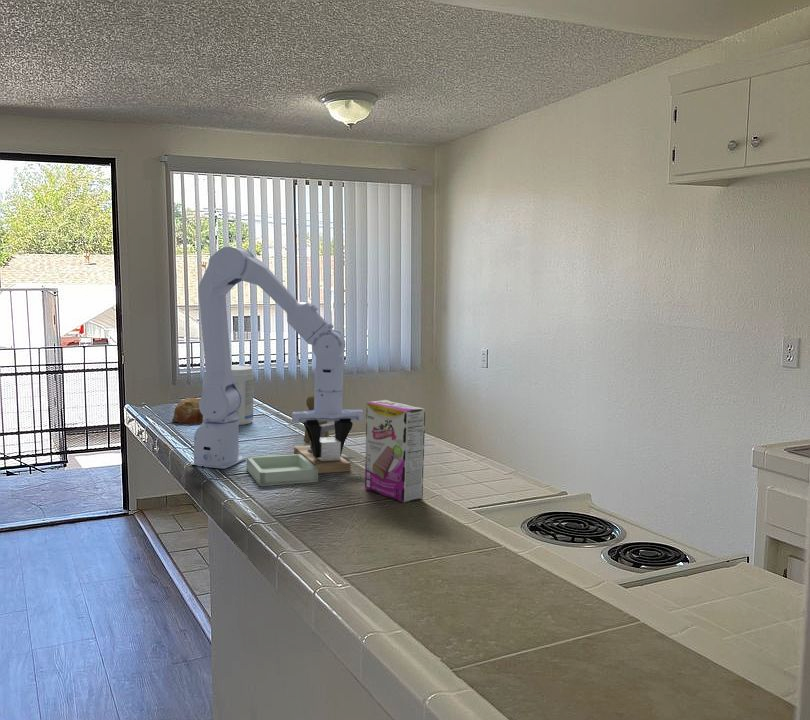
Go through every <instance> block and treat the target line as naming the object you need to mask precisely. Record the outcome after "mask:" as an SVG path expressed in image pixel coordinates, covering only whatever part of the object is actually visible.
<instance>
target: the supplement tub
mask: <svg viewBox="0 0 810 720" xmlns="http://www.w3.org/2000/svg"><path fill="white" fill-rule="evenodd" d="M231 370H232V373H233V375H234V377H235V379H236V385H237V388H238V390H239V391H240V393H241V396H242V403H241V406H240V408H239V409H238V410H237V411H236V412H237V415H238V416H239V426H245V425H249V424H251V423H252V422H253V420H254V371H253V370H254V369H253V367H252V366H249V365H248V366H246V365H231Z"/></svg>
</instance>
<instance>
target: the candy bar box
mask: <svg viewBox="0 0 810 720" xmlns="http://www.w3.org/2000/svg"><path fill="white" fill-rule="evenodd" d="M365 419H366V420H365V421H366V422H365V424H366V425H365V428H366V429H365V469H364V473H365V474H364V475H365V477H364V489H365V490H368V491H371V492H374V493H376V494H379V495H382V496H384V497H386V498H390V499H392V500H395V501H398V502H400V503H404V504H405V503H410V502H414V501H417V500H422V499H423V497H424V495H423V494H424V493H423V492H424V460H425V458H424V457H425V433H426V432H425V431H426V408H423V407H418V406H415V405H410V404H404V403H402V402H401V403H400V402H396V401H393V400H388V399H380V400H378V399H377V400H369V401H366V418H365Z"/></svg>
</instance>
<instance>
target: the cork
mask: <svg viewBox="0 0 810 720" xmlns="http://www.w3.org/2000/svg"><path fill="white" fill-rule="evenodd" d="M305 404H306V407H307V408H308V409H307V411H311V410H314V394H310V395H308V396H307V397H306V402H305ZM318 423H319V425H322V424H327V423H328V421H319V422H318ZM329 434H330V433H329V431H327V432H324V437H330V435H329ZM303 441H304V442H306V443H310V438H309V435H308V433H307V431H306V428H305V431H304V437H303Z"/></svg>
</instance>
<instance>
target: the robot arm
mask: <svg viewBox="0 0 810 720" xmlns="http://www.w3.org/2000/svg"><path fill="white" fill-rule="evenodd" d="M240 282H245V283H249V284H252V285H256V286H258V287H259V288H261V290H262V291H264V292H265V293H266V294H267V296H269V297H270V298H271V300H273V301H274V302H275V303H276V304H277V305H278V306H279V307H280V308H281V309H282V310H283V311H284V312H285V313H286V318H287V319H286V322H287V324H288V325H290V327H291V328H292V329H293V330H294V331H295V332H296V333H297V334H298V335H299V336H300V337H301V338H302V339H303V340H304V341H305V342H306V343H307V344H308V345H311V348H312V352H313V354H314V355H315V367H314V389H313V390H314V391H313V393H314V410H311V411H308V410H304V411H292V412H291V422H292V424H293V423H294V424H300V423H303V426H304V428H305V429H306V431H307V433H308V435H309V438H310V441H311V445H312V449H313V456H314V457H315V458H319V455H320V433H321V426H320V425H319V423H318V422H319V421H327V422H334V425H335V430H334V438H336V439H337V440H339V441H340V442H341V450H340V456H341V457H342V453H343V448H344V445H345V443H346V440H347V437H348V435H349V434H350V431H351V430H352V428H353V425H354V424H353V422H352V421H364V411H363V410H362V409H343V400H344V399H343V398H344V397H343V393H344V367H343V365H344V357H343V355H342V354H343V353H344V351H345V349H346V340H345V338H344V336H343V335H342V333H341V332H340V331H339V330H337V329H334V328H335V326H334V325H333V324H332V323H328V322H327V321H326V320H325V318H323V317H322V316H321V314H319V312H317V311H318V307H317V306H316V305H315V304H312V305H311V304H310V303H309V302H306V301H305V302H304V301H303V302H302V301H301V302H300V301H298V300H297V299H296V298H295V296H294V295H293V294H292V293H291V292H290V291H289V290H288V289H287V287H286V286H285V285H284V283H282V282H281V281H280V280H279V278H278V277H277V276H276V275H275V274H274V273H273V272H272V270H270V268H269V267H268V266H267V265H266V264H265V263H263V261H261V259H259V258H258V257H255V255H254V254H253V253H252V252H251V251H250V250H248V249H246V248H240V247H239V248H236V247H234V246H227V245H226V246H223V247H221V248H220V249H218V250H217V251H216V252H215V253H213V254H212V255H211V256H210V257H209V259H208V264H207V268H206V270H205V271H204V273H203V276H202V278H201V280H200V281H199V284H198V301H199V310H200V311H199V312H200V322H201V323H200V324H201V332H202V344H203V356H204V358H203V359H204V368H205V375H204V378H203V381H202V384H201V389H202V391H201V392H202V393H201V396H200V398H199V399H200V401H199V409H200V412H201V414H202V415H203V422H202V423H201V425H200V426H199V427H198V428H197V429H196V431H195V432H194V435H193V461H192V462H190V463H189V465H190V466H192V465H198V466H197V467H202V466H204V468H214V469H222V470H223V469H228V468H230V467H233V466H234V465H237V464H238V463H240V462H243V461H245V460H247V456H241V455H239V450H240V449H239V444H240V442H239V438H240V437H239V433H240V431H239V429H240V428H239V426H240V425H239V416H238V415H237V412H236V411H237V410H238V409H239V408H240V406H241V403H242V396H241V393H240V391H239V390H238V388H237V385H236V379H235V377H234V375H233V373H232V370H231V366H232V359H231V349H230V338H229V336H230V334H229V326H228V312H227V301H226V300H227V299H226V296H227V294H228V293H230V292H231V291H232V289H233V288H234V287H235V286H236V285H237V284H238V283H240Z"/></svg>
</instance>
